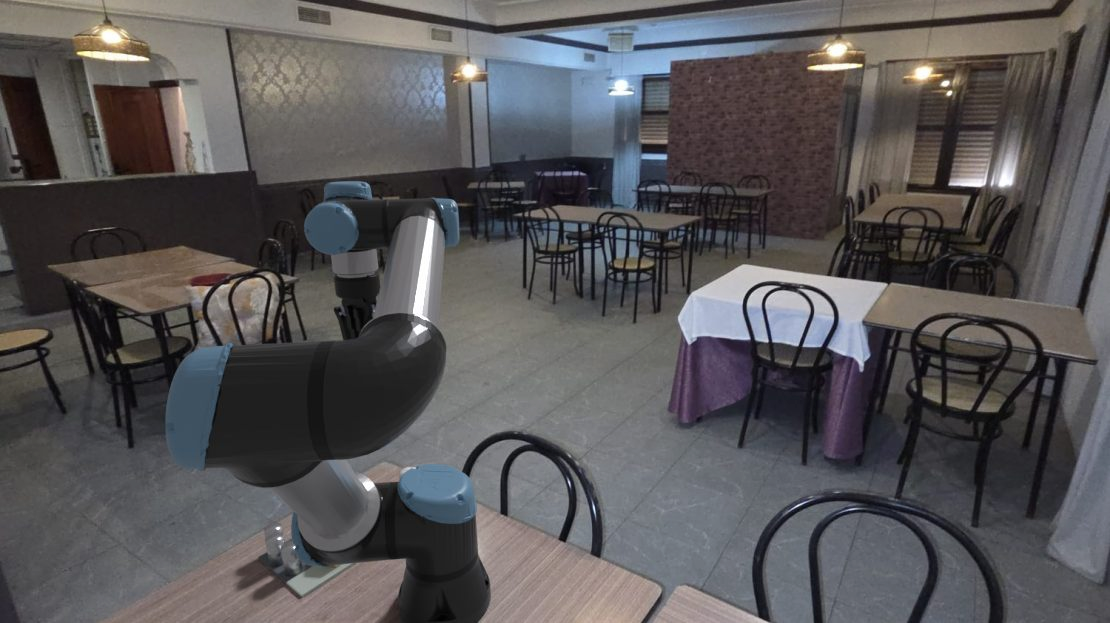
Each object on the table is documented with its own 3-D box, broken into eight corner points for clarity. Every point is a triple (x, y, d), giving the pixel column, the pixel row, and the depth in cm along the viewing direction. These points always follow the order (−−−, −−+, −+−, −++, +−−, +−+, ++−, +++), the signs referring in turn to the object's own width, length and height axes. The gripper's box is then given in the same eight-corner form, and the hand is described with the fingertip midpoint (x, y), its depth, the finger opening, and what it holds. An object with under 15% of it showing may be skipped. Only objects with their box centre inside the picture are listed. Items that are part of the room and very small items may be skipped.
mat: (381, 546, 110) (381, 544, 110) (302, 597, 98) (301, 594, 98) (336, 516, 119) (336, 513, 119) (258, 559, 107) (258, 557, 107)
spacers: (363, 534, 113) (360, 512, 111) (287, 580, 101) (283, 556, 100) (332, 514, 119) (329, 493, 118) (257, 555, 108) (253, 532, 106)
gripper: (398, 273, 100) (408, 399, 107) (352, 264, 108) (364, 382, 114) (361, 282, 94) (374, 414, 101) (315, 271, 102) (330, 395, 109)
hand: (369, 397), depth 108 cm, fingers closed
